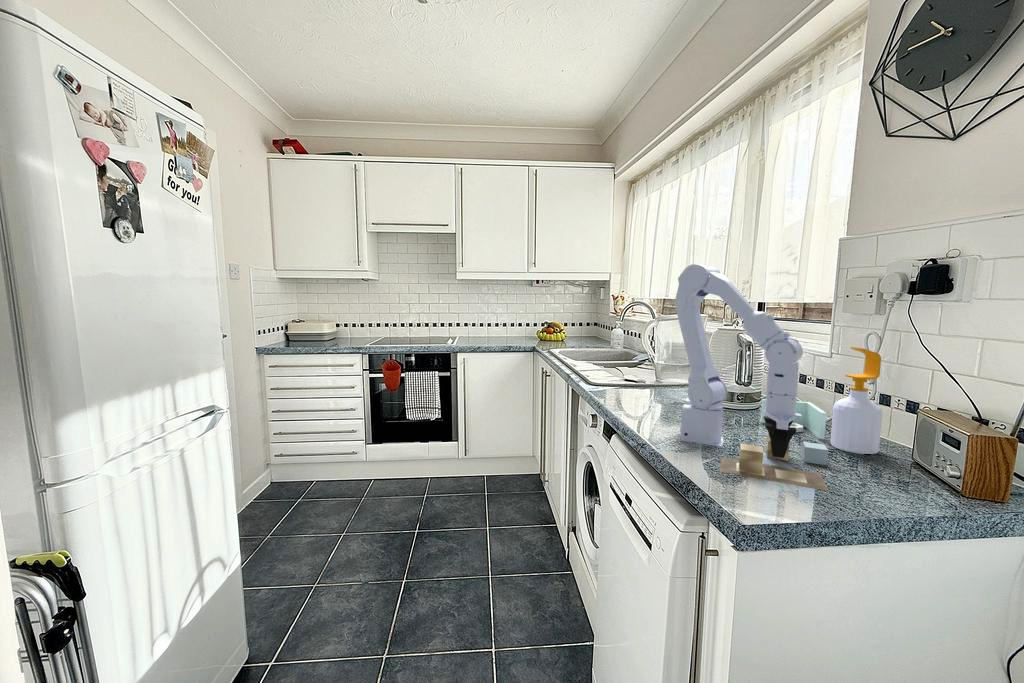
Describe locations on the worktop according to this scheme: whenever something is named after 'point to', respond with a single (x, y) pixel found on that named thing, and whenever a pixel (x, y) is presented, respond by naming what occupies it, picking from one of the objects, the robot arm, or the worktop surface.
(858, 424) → the soap bottle
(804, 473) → the board
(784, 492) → the worktop surface
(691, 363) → the robot arm
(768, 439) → the tan wooden cube
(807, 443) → the slate grey cube
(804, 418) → the right angle wall
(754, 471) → the pillar
